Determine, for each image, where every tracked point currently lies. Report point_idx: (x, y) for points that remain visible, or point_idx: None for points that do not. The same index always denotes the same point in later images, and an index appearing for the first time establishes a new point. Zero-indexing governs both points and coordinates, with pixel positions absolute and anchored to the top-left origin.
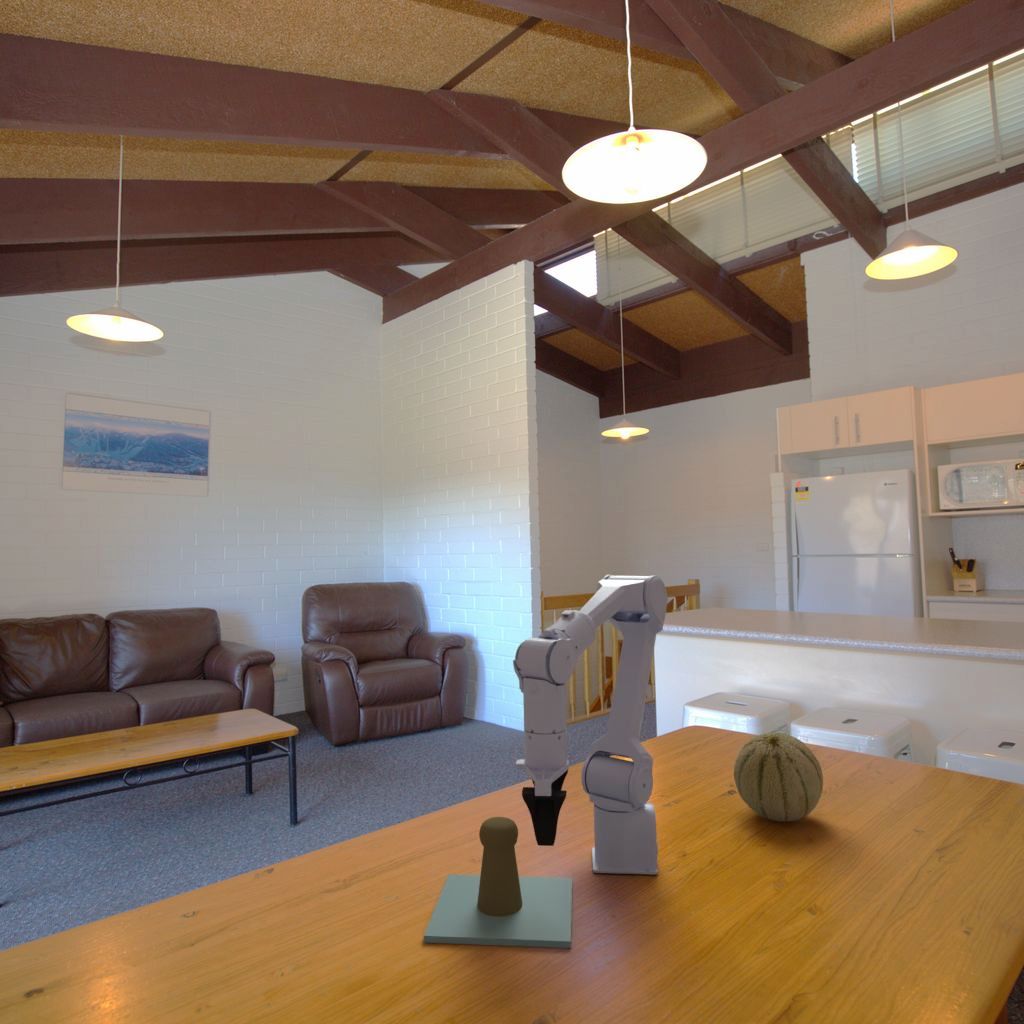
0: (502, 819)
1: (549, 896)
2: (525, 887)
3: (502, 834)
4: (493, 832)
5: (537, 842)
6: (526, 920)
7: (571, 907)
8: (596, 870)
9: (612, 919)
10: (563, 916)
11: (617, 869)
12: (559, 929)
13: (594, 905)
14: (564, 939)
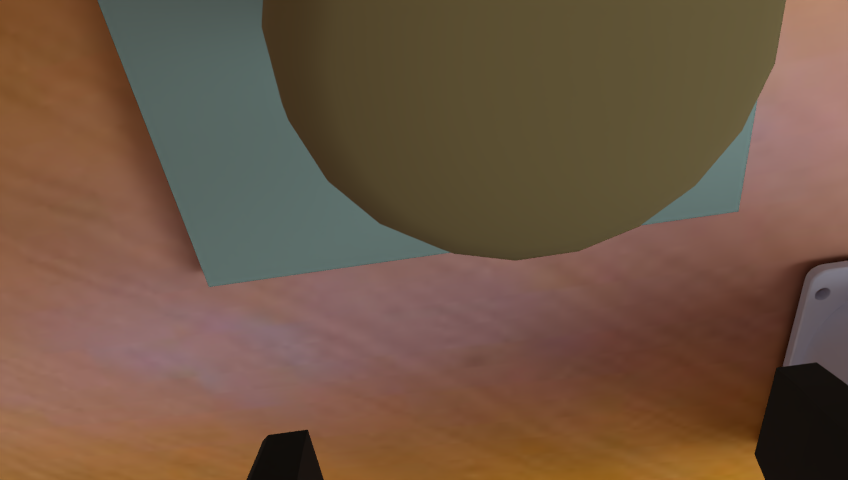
0: (581, 131)
1: None
2: None
3: (309, 152)
4: (276, 47)
5: (261, 453)
6: None
7: None
8: (809, 285)
9: (450, 360)
10: (386, 233)
11: (805, 350)
12: (279, 236)
13: (542, 298)
14: (212, 265)
